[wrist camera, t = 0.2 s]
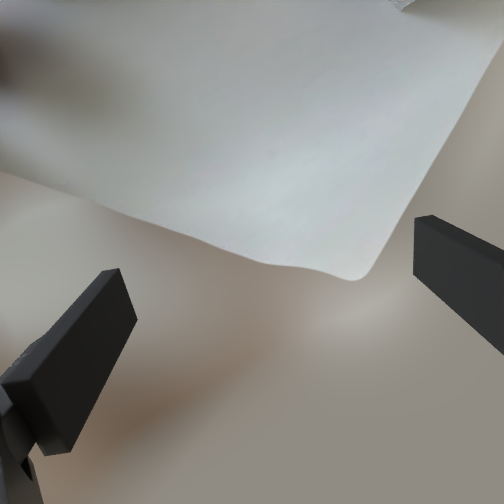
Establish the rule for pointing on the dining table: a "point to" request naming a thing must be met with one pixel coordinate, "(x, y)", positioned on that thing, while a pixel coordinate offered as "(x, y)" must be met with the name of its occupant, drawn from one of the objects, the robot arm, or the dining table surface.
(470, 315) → the robot arm
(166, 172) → the dining table surface
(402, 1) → the grey hollow box
